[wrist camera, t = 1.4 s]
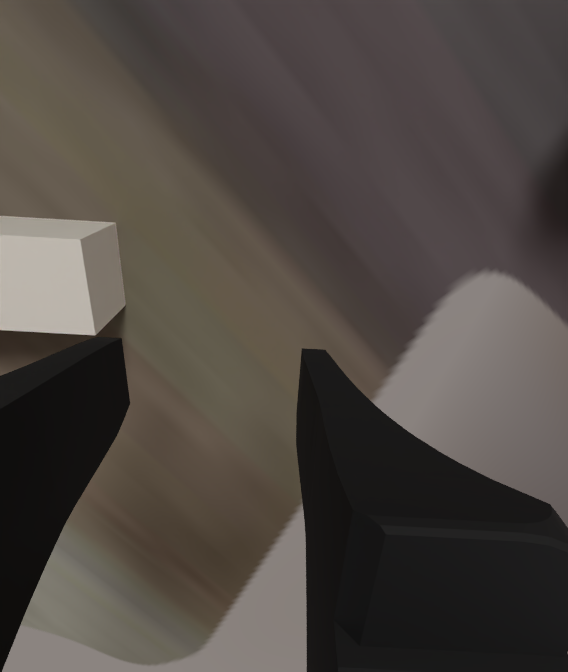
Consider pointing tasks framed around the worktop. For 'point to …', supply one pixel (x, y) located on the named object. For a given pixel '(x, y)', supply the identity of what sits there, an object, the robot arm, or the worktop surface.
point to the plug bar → (59, 275)
